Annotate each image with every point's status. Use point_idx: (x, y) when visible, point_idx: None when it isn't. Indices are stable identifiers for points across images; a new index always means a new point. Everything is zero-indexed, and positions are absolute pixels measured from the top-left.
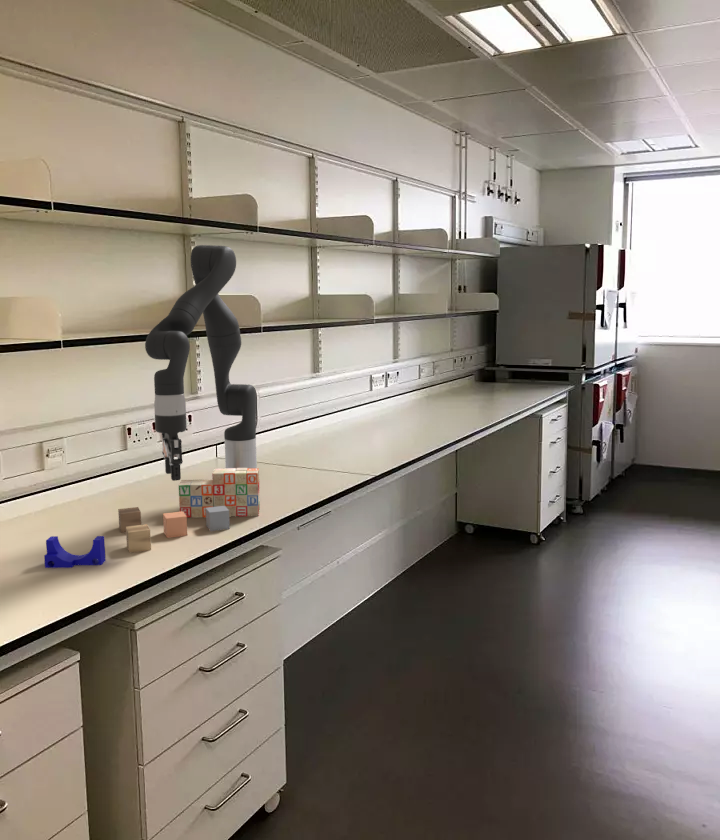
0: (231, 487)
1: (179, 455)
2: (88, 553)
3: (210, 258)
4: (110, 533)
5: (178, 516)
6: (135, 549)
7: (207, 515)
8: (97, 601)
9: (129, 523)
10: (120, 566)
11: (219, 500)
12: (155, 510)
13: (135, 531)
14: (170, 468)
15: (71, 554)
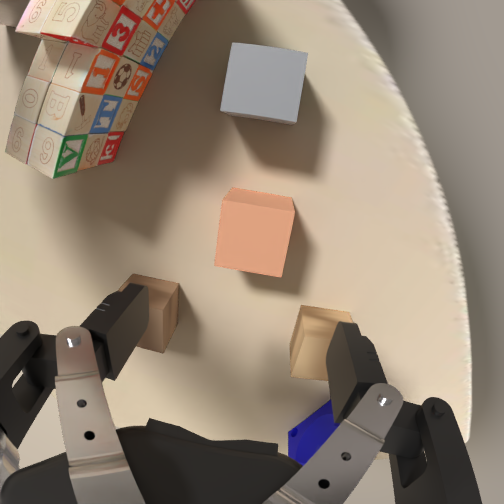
0: None
1: (434, 453)
2: None
3: None
4: (172, 341)
5: (280, 236)
6: None
7: (253, 116)
8: (470, 400)
9: (171, 319)
10: (393, 373)
11: (140, 41)
12: (39, 202)
13: None
14: (136, 319)
15: (310, 427)
